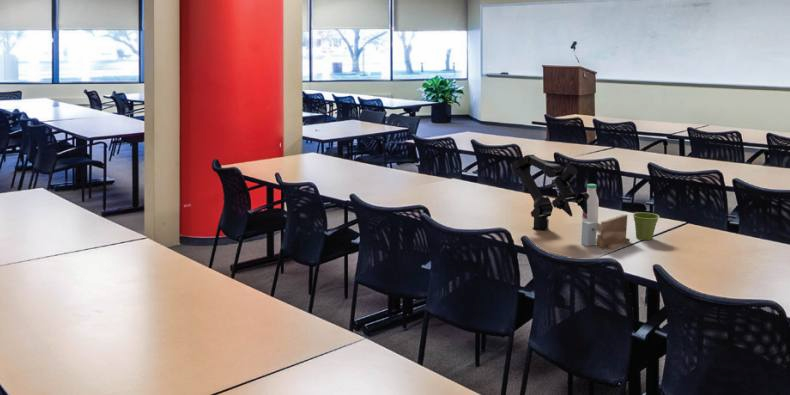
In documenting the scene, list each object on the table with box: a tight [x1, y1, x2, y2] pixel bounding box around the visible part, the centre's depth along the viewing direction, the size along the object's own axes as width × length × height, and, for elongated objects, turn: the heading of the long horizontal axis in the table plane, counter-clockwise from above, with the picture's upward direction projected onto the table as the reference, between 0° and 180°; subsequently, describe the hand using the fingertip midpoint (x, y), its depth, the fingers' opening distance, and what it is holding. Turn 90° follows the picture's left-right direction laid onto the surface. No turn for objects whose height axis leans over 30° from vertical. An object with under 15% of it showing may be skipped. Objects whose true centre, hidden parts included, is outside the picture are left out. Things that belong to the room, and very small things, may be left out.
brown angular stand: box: [596, 214, 631, 250], centre depth 332 cm, size 14×20×12 cm
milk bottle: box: [581, 183, 600, 223], centre depth 368 cm, size 8×8×20 cm
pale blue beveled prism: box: [580, 221, 598, 247], centre depth 330 cm, size 5×5×10 cm
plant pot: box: [632, 211, 660, 241], centre depth 339 cm, size 12×12×11 cm
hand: (579, 214), depth 334 cm, fingers open, 9 cm apart
